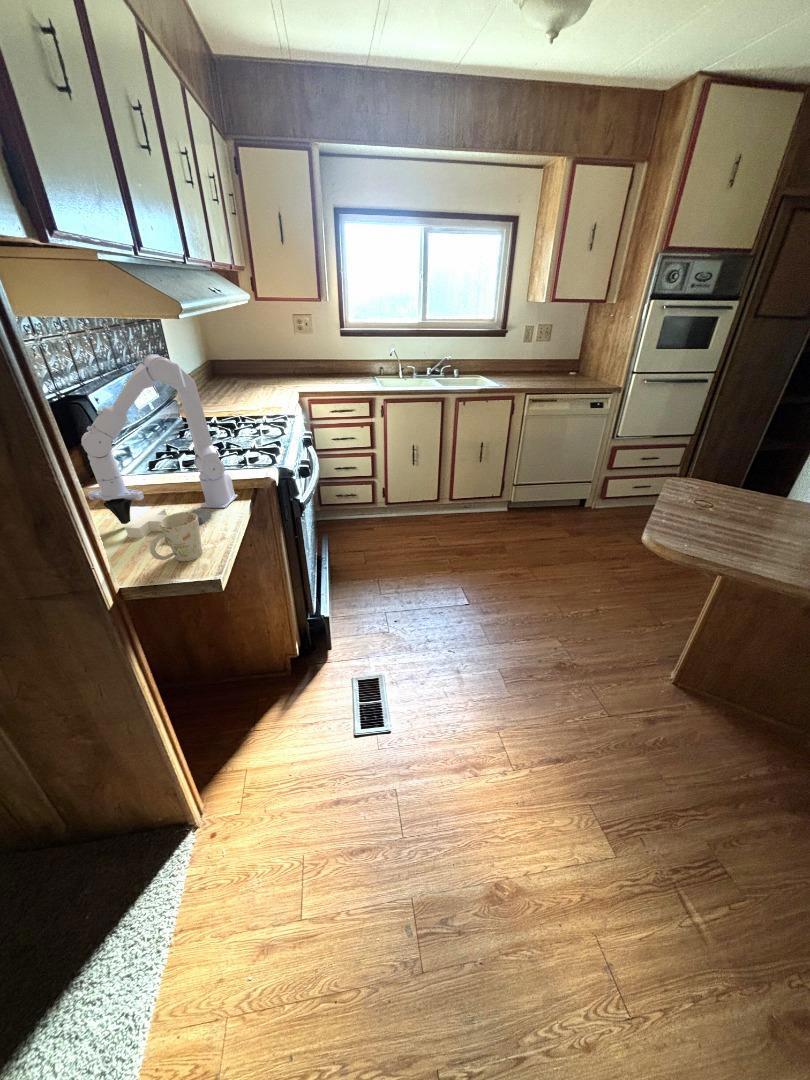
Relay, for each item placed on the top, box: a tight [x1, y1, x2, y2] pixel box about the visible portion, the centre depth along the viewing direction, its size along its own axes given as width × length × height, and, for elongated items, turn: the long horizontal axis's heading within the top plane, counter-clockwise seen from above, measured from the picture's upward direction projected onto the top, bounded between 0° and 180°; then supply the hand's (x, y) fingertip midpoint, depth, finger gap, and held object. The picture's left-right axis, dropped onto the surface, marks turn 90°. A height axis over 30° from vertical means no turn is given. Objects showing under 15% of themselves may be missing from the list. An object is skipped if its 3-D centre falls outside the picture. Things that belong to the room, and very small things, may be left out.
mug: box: [149, 511, 203, 562], centre depth 103 cm, size 8×13×10 cm, turn 149°
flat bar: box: [164, 509, 212, 543], centre depth 119 cm, size 16×5×2 cm, turn 176°
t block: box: [125, 508, 171, 539], centre depth 119 cm, size 12×11×3 cm
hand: (126, 522), depth 120 cm, fingers closed
